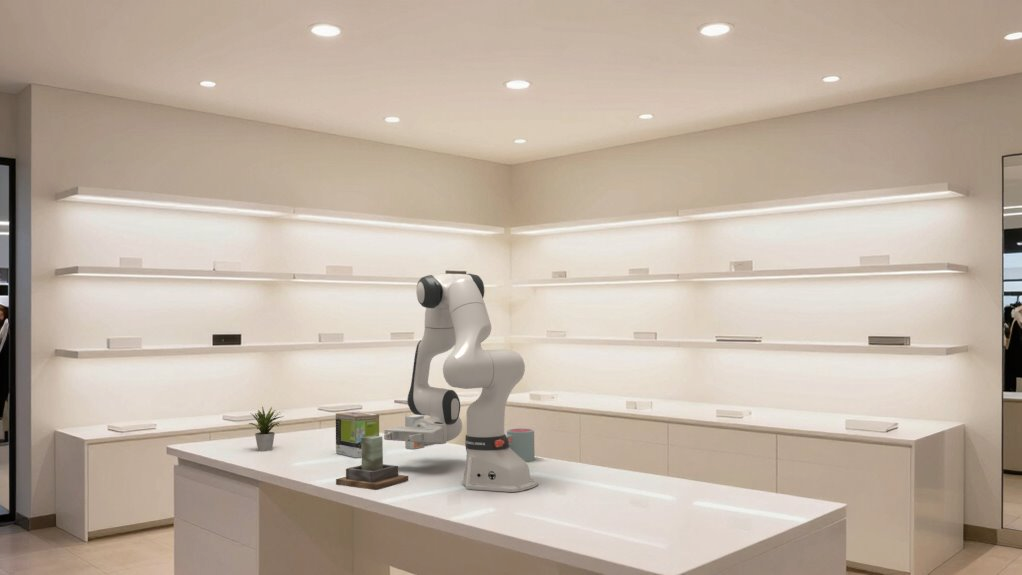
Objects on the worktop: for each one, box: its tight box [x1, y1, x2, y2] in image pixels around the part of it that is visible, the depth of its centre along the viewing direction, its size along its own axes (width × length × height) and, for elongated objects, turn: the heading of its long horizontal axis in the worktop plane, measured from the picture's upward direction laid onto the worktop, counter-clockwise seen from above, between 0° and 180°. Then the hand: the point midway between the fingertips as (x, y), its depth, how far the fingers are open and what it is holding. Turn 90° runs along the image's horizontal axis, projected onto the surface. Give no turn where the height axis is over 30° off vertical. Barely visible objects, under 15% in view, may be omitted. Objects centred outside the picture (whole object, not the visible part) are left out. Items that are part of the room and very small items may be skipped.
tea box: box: [335, 411, 380, 459], centre depth 300 cm, size 15×10×15 cm, turn 40°
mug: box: [505, 427, 536, 463], centre depth 281 cm, size 14×9×10 cm
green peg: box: [361, 435, 384, 471], centre depth 250 cm, size 4×4×12 cm
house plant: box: [248, 406, 285, 452], centre depth 312 cm, size 14×14×16 cm
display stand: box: [335, 463, 409, 491], centre depth 249 cm, size 16×14×4 cm
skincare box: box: [404, 414, 425, 450], centre depth 311 cm, size 6×4×12 cm
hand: (397, 437), depth 260 cm, fingers open, 8 cm apart
